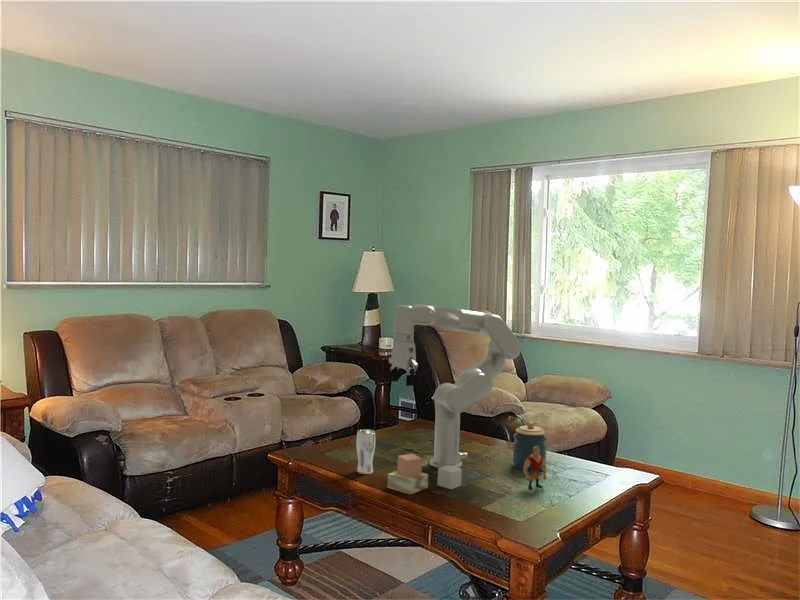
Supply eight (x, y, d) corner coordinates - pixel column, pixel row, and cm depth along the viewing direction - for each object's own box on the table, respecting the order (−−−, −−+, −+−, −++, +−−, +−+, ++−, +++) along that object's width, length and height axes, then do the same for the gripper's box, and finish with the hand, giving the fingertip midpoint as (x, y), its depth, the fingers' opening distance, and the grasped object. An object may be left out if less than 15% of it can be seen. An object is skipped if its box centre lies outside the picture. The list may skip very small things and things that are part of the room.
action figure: (526, 490, 221) (528, 447, 220) (520, 487, 224) (522, 445, 224) (549, 487, 225) (551, 445, 224) (542, 484, 228) (544, 443, 228)
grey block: (447, 481, 228) (447, 464, 228) (461, 485, 224) (461, 468, 224) (437, 485, 224) (438, 468, 223) (451, 489, 220) (452, 472, 220)
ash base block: (405, 481, 227) (405, 467, 227) (427, 488, 221) (428, 474, 221) (387, 488, 220) (387, 474, 219) (410, 495, 213) (410, 480, 213)
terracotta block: (412, 470, 224) (412, 453, 224) (421, 475, 219) (421, 458, 219) (397, 472, 221) (398, 455, 221) (405, 478, 216) (406, 460, 216)
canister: (526, 473, 240) (528, 427, 239) (505, 464, 251) (507, 419, 250) (553, 469, 246) (555, 424, 245) (531, 460, 257) (532, 417, 257)
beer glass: (371, 475, 232) (373, 434, 231) (353, 473, 233) (354, 433, 232) (376, 469, 238) (377, 430, 238) (358, 468, 240) (359, 428, 239)
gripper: (425, 340, 235) (424, 386, 236) (398, 335, 249) (396, 379, 250) (409, 341, 230) (407, 388, 231) (382, 336, 244) (381, 380, 245)
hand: (402, 383), depth 240 cm, fingers open, 9 cm apart
